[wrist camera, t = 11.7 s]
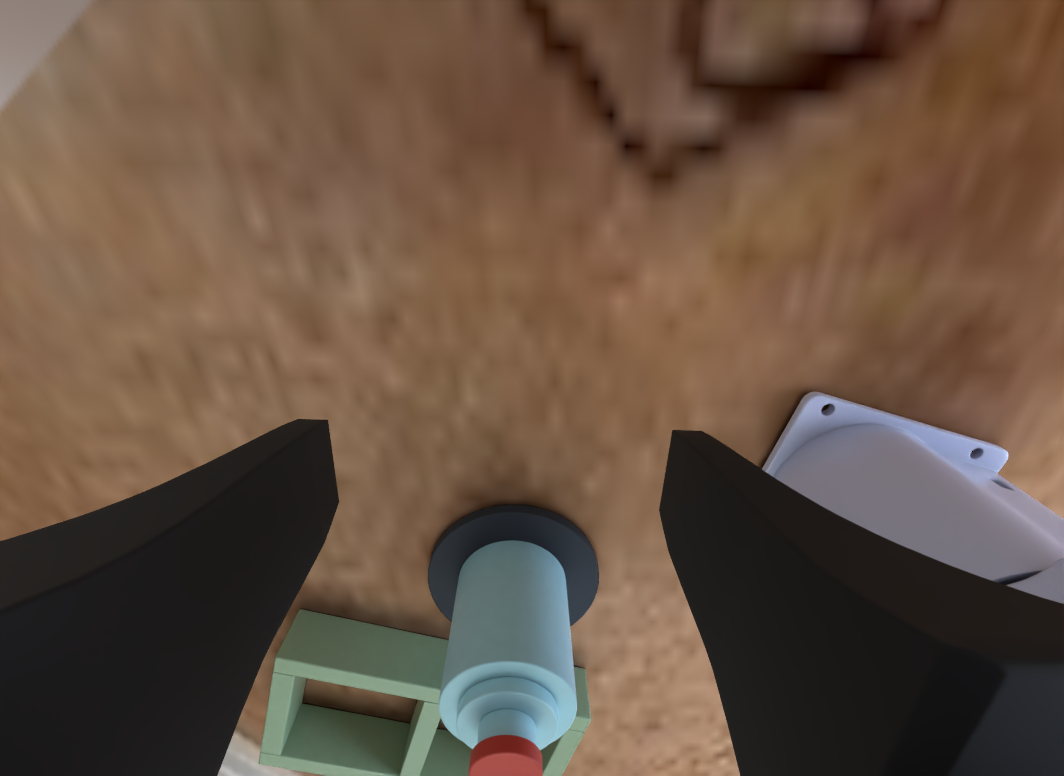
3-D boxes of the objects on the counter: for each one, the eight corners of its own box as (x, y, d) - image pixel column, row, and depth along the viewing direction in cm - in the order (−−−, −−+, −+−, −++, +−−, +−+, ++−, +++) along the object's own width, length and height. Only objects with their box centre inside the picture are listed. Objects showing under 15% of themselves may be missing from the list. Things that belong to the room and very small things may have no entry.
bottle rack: (299, 607, 26) (274, 657, 23) (585, 668, 28) (591, 720, 25) (281, 710, 29) (258, 764, 27) (540, 758, 31) (541, 813, 28)
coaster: (622, 527, 24) (624, 536, 24) (566, 646, 27) (567, 657, 27) (452, 485, 23) (450, 493, 23) (414, 614, 26) (411, 624, 26)
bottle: (580, 553, 24) (605, 742, 16) (546, 630, 26) (555, 830, 18) (474, 528, 23) (448, 712, 16) (447, 608, 25) (413, 807, 18)
